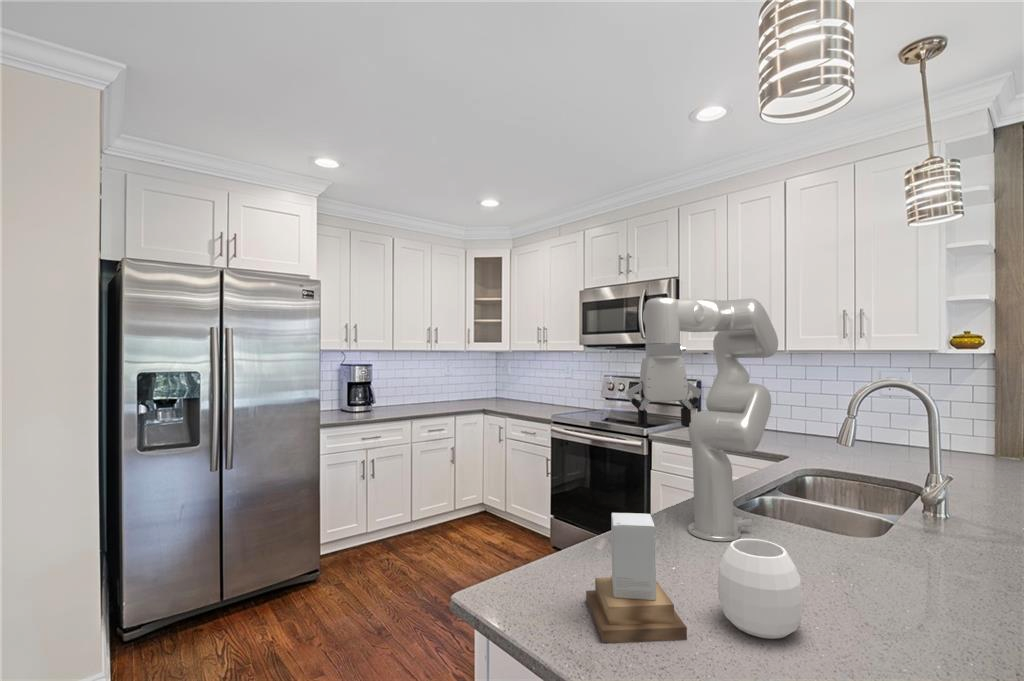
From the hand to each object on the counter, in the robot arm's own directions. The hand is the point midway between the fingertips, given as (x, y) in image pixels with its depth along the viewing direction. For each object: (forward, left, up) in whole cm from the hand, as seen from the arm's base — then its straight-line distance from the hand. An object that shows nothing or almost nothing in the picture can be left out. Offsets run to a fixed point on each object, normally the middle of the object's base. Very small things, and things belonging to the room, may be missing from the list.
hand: (664, 426), depth 115 cm
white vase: (-6, +28, -31) cm, 42 cm away
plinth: (+15, +24, -30) cm, 41 cm away
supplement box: (+15, +24, -26) cm, 38 cm away
